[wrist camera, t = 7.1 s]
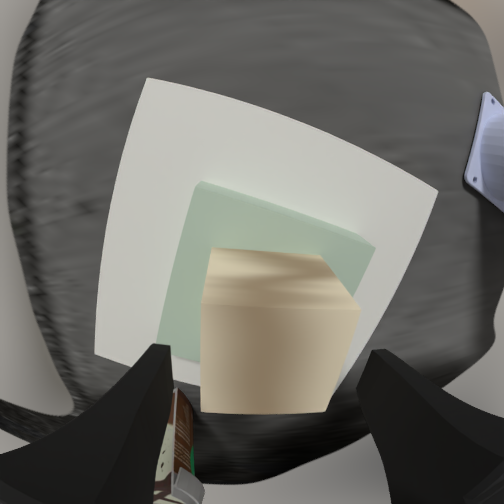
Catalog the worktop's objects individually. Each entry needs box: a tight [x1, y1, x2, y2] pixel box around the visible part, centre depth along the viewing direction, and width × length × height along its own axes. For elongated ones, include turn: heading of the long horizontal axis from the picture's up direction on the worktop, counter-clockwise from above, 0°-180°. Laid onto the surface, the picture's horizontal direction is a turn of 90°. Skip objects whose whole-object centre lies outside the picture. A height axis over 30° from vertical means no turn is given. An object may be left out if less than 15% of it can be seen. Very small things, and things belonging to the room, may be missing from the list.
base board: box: [95, 78, 438, 395], centre depth 16 cm, size 18×18×4 cm
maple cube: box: [200, 247, 361, 414], centre depth 12 cm, size 5×5×5 cm
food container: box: [153, 388, 205, 504], centre depth 18 cm, size 12×6×10 cm, turn 122°
